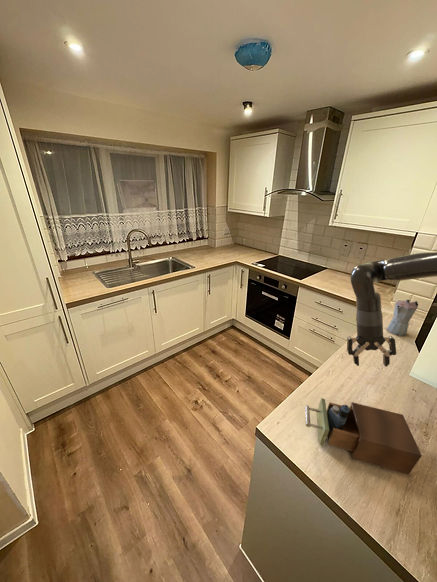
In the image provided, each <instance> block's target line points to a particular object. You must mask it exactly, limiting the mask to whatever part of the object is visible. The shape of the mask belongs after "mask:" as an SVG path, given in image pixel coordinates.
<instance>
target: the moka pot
mask: <svg viewBox="0 0 437 582" xmlns="http://www.w3.org/2000/svg"><path fill="white" fill-rule="evenodd" d="M418 307H419V303H418V301H417V300H416V301H411V300H410V299H406V300H397V301H396V302H395V304H394V309H393V317H392V318H391V320H390V322H389V324H388V325H387V327H386V328H387V332H389V333H391V334H393V335H395V336H401V337H404V336H407V334H408V328H409V324H410V321H411V319H412V318H413V316H414V314H415V313H416V311H417V309H418Z"/></svg>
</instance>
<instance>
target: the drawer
mask: <svg viewBox="0 0 437 582" xmlns="http://www.w3.org/2000/svg"><path fill="white" fill-rule="evenodd" d="M334 405H336V406H338V407H339V410H340V408H341V406H342V405H343V404H342V405H341V404H339V403H338V404H337V403H334V402H331V401H329V403H328V405H326V398H322V397H321V398H320V400H319V403H318V407H317V408H314V407H310V406H309V405H304V418H305V427H307V428H310V427H312V428H314V429H315V428H316V429H317V432H318V433H317V434H318V442H319V443H318V445H319V446H323V447H324V446H325V444H326V440H327V445H330V446H333V447H335V448H339V449H342V450H347V451H350V452H351V451H354V449H355V447H356V445H357V443H358V441H359V438H360V437H359V433H358V429H357V425H356V421H355V417H354V414H353V410H352V408H350V406H348V407H349V409H350V411H349V414H348V416H347V420H346V422H345V424H344V426H343V428H342V430H340V429H336V428H333V430H332V431H331V430H330V429H329V425H328V418H327V416H328V413H329V410H330V409H331V408H332V407H333V406H334ZM311 411H312V412H316V420H317V423H316V424H315V423H314V424H313V423H311V413H310V412H311Z"/></svg>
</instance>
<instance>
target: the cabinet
mask: <svg viewBox="0 0 437 582" xmlns="http://www.w3.org/2000/svg"><path fill="white" fill-rule="evenodd" d="M349 407H350V408H352V410H353V414H354V417H355V421H356V425H357V429H358V433H359V437H360V438H359V441H358V443H357V445H356V447H355V449H354V451H350V455H351V458H352V459H353V460H357V461H361V462H364V463H368V464H371V465H374V466H378V467H381V468H384V469H388V470H392V471H394V472H397V473H401V474H405V475H408V476H409V475H410V474H411V472H412V471H413V469H414V468H415V467H416V465H417V463H418V462H419V461H420V460H421V458H422V456H423V455H422V453H421V450H420V448H419V446H418V444H417V443H416V439H415V438H414V436H413V433H412V432H411V429H410V427H409V425H408V423H407V421H406V419H405V415H404V414H401V413H399V412H394V411H393V412H392V411H389V410H386V409H382V408H377V407H373V406H370V405H366V404H361V403H357V402H353V401H352V402H350V405H349Z"/></svg>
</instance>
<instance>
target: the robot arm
mask: <svg viewBox="0 0 437 582" xmlns="http://www.w3.org/2000/svg"><path fill="white" fill-rule="evenodd" d="M436 277H437V251H434V252H433V251H429V252H428V251H427V252H417V253H411V254H406V255H401V256H396V257H392V258H389V259H379V260H373V261H369V262H365V263H361V264H359V265H356V266H355V267H353V269H352V270H351V272H350V283H351V287H352V290H353V294H354V296H355V299H356V300H355V304H356V306H355V307H356V311H355V312H356V313H355V322H356V335H357V336H356V337H352V336H347V337H346V351H347V353H348V355H349V356H352V357H353V364H355V365H356V366H357V367H359V366H360V357H359V355H360V354H362V353H363V352H364V351H377V350H378V351H380V352H381V353H382V362H383V366H384V367H388V366H390V364H391V362H390V357H391V356H396V355H397V346H396V339H395V338H394V337H393V336H392V335H388V336H385V337H384V322H383V320H384V319H383V312H382V311H383V310H382V298H381V296H382V295H381V293H379V292H378V291H377V290H376V289H375V284H376V283H380V282H386V281H391V282H402V281H409V280H410V281H411V280H416V279H417V280H418V279H424V278H425V279H426V278H436ZM385 342H386V343H387V344H388V350H387V349H386V348H385V347H384V346H383V344H384V343H385ZM355 343H357V345H356V347H355V348H354V349H353V345H354V344H355Z"/></svg>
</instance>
